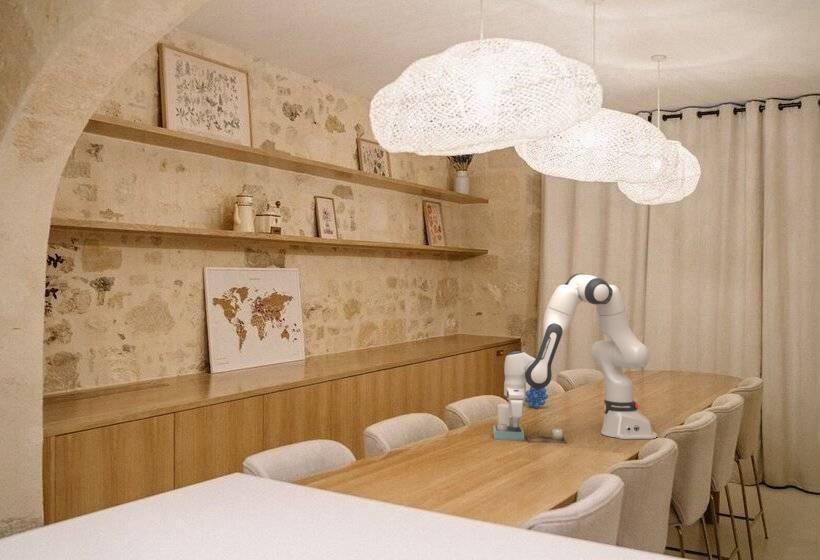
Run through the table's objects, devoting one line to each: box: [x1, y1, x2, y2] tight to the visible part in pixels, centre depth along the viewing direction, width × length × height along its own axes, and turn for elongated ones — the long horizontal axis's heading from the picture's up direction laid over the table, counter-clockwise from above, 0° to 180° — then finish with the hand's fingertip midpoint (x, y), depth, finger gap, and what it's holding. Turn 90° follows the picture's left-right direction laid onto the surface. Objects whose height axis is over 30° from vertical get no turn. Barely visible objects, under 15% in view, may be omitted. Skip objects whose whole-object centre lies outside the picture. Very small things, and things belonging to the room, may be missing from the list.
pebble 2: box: [509, 418, 520, 431], centre depth 299 cm, size 4×4×4 cm
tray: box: [525, 435, 568, 444], centre depth 293 cm, size 15×8×1 cm, turn 87°
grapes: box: [524, 386, 549, 409], centre depth 368 cm, size 12×7×12 cm, turn 64°
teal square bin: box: [492, 425, 525, 441], centre depth 299 cm, size 12×12×4 cm
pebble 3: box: [551, 427, 563, 441], centre depth 293 cm, size 4×4×4 cm
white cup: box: [496, 403, 511, 426], centre depth 317 cm, size 8×8×10 cm
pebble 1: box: [496, 423, 507, 431], centre depth 299 cm, size 4×4×4 cm
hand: (514, 425), depth 299 cm, fingers closed on pebble 2, 4 cm apart
